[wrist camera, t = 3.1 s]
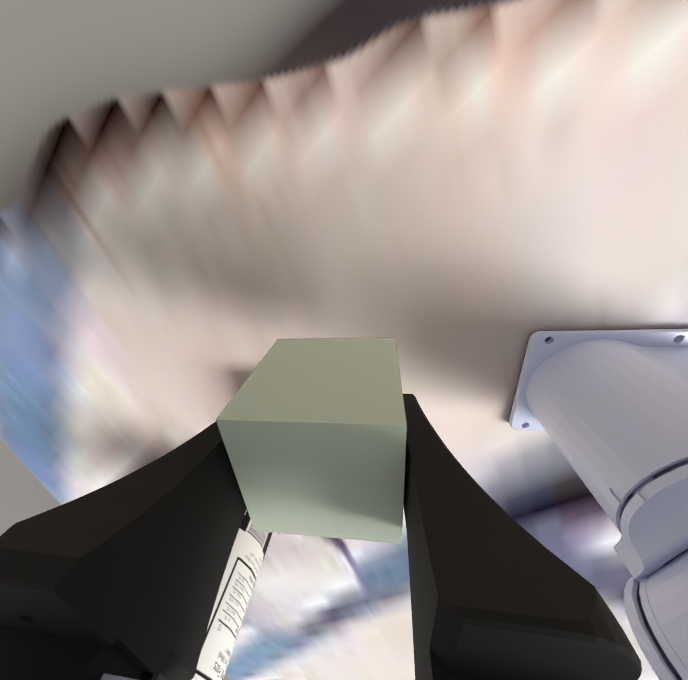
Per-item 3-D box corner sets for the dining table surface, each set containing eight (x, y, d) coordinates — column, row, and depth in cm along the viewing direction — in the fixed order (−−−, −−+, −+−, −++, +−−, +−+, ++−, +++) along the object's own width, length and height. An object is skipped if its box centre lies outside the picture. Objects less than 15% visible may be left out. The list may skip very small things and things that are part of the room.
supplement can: (256, 521, 31) (161, 754, 18) (196, 482, 29) (42, 710, 16) (299, 494, 28) (224, 754, 15) (235, 449, 26) (84, 699, 13)
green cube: (395, 337, 11) (407, 425, 7) (393, 430, 13) (401, 543, 9) (277, 339, 12) (215, 419, 7) (294, 426, 14) (254, 530, 9)
